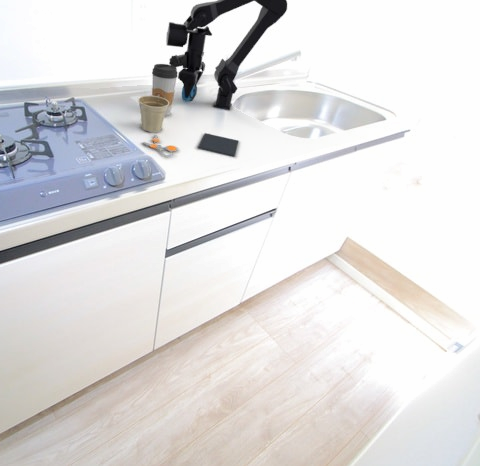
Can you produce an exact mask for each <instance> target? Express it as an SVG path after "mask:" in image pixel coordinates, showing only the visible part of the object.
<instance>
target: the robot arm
mask: <svg viewBox="0 0 480 466" xmlns="http://www.w3.org/2000/svg"><path fill="white" fill-rule="evenodd" d="M252 2H256V3H257V4H259V5H260V6H261V8H260V11H259V12H258V16H257V19H256V21H255V22H254V23H253V25H252V26H251V27H250V29H249V30H248V32H247V33H246V35H245V36H244V37H243V39H242V40H241V41H240V43H238V45H237V46H236V48H235V50H234V51H233V53H232V54H231V55H230V56H229V57H228V58H227V59H226V60H225V59H223V58H221V59H220V62H219V63H218V65H217V66H215V68H214V69H215V71H214V74H213V75H214V80H215V81H216V83H217V86H218V90H217V95H216V99H215V102H214V103H213V107H214V108H219V109H224V110H229V111H230V110H231V108H232V105H233V104H232V99H233V95H234V94H236V92H237V90H238V87H237V86H236V83H235V82H234V80H235V78H236V77H237V74H238V72H239V69H240V66H241V65H242V63H243V62H244V61H245V59H246V58H247V57H248V55H249V54H250V53H251V51H252V50H253V49H254V47H256V45H257V43H258V42H259V41H260V39H261V38H262V36H263V35H264V34H265V33H266V31H267V30H268V29H269V28H270V27H272V26H273V25H274V24H276V23H277V22H279V21H280V19H281V18H282V17H283V16H284V15H285V14H286V12H287V10H288V1H287V0H215V1H207V2H202V3H198V4H195V5H194V6H192V8H191V10H190V15H189V16H188V17H187V18H186V19H185V21H184V22H183V24H182V23H176V22H172V21H169V22H168V26H167V32H166V37H165V38H166V40H165V41H166V42H165V43H166V44H165V45H166V46H168V47H177V48H184V46H186V45H187V48H186V51H185V52H184V53H183V54H178V55H177V54H175V55H171V56H170V58H169V61H168V65H172V66H174V67H176V68H179V67H182V69H181V70H180V71H178V73H177V79H178V80H179V81H181V83H182V84H183V86H184V93H185V98H188V97H189V95H190V93H191V91H192V89H193V87H194V85H195V84H196V83H197V84H199V82H200V79H202V76H203V74H204V72H205V70H206V63H205V62H204V61H203V57H204V56H205V51H204V49H205V43H206V37H207V36H208V37H209V36H210V37H212V36H213V33H212V32H211V30H210V27H209V26H208V25H210V24H211V23H213V22H214V21H215V20H216V19H217V18H219V17H220V16H222V15H224V14H227V13H229V12H231V11H233V10H236V9H238V8H240V7H243V6H245V5H247V4H250V3H252Z"/></svg>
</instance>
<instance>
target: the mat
mask: <svg viewBox="0 0 480 466" xmlns="http://www.w3.org/2000/svg"><path fill="white" fill-rule="evenodd" d="M238 145H239V140H238V139H233V138H229V137H224V136H219V135H216V134H215V135H214V134H210V133H206V132H205V133H204V134H203V137H202V138H201V140H200V143H199V144H198V146H197V149H198V150H202V151H206V152H207V151H208V152H212V153H216V154H221V155H224V156H229V157H236V153H237V148H238Z"/></svg>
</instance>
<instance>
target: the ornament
mask: <svg viewBox="0 0 480 466" xmlns="http://www.w3.org/2000/svg"><path fill="white" fill-rule="evenodd" d="M197 86H198V83H196V84H195V85H194V87H193V89H192V91H191V93H190V95H189V97H188V98H185V93H184V85H183V86H182V90H181V99H182V101H184V102H186V103H189V102H193V101H194V100H195V97H197V92H198V87H197Z"/></svg>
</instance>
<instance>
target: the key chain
mask: <svg viewBox="0 0 480 466" xmlns="http://www.w3.org/2000/svg"><path fill="white" fill-rule="evenodd" d="M153 137H154V138H152V142H153V143H149V142H146V141H143V142H142V144H144V145H145V146H148V147H150V148H152V149H156V150H158V151H159V153H161V154H162V155H163V156H164V157H171V156H173V155H175V152H176V151H178V148H177V146H175V145H167V146H164V147H163V146H162V145H161V144H155V143H158V142H160V139H159V138H158V135H157V134H154V135H153ZM165 150H166V151H169V152H170V153H171V154H165V153H164V152H163V151H165Z"/></svg>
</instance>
